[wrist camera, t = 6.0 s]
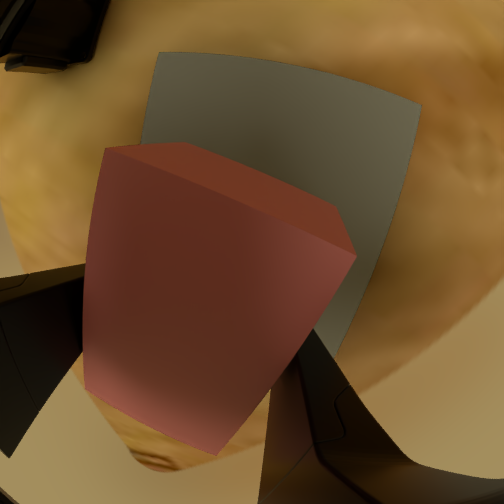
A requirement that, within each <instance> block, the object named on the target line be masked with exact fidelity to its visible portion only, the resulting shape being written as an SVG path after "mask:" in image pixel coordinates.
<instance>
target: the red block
mask: <svg viewBox="0 0 504 504" xmlns="http://www.w3.org/2000/svg"><path fill="white" fill-rule="evenodd" d="M356 257H357V255H356V252H355V250H354V247H353V245H352V242H351V240H350V238H349V235H348V233H347V230H346V228H345V226H344V223H343V221H342V219H341V217H340V214H339V212H338V210H337V208H336V206H334V205H332V204H330V203H328V202H326V201H324V200H322V199H320V198H318V197H316V196H314V195H312V194H309V193H307V192H305V191H303V190H301V189H299V188H296V187H294V186H292V185H290V184H288V183H285V182H283V181H281V180H279V179H276V178H274V177H272V176H269V175H267V174H265V173H262V172H260V171H258V170H255V169H253V168H251V167H248V166H246V165H243V164H241V163H238V162H236V161H233V160H231V159H228V158H226V157H223V156H221V155H218V154H216V153H213V152H210V151H208V150H205V149H203V148H200V147H197V146H195V145H192V144H189V143H186V142H174V143H155V144H141V145H129V146H118V147H109V148H105V152H104V156H103V160H102V164H101V169H100V173H99V178H98V183H97V188H96V193H95V198H94V204H93V210H92V216H91V223H90V230H89V237H88V245H87V255H86V265H85V277H84V294H83V365H84V381H85V389H86V390H87V391H89V392H90V393H92V394H93V395H95V396H96V397H98V398H100V399H101V400H103V401H104V402H106V403H108V404H109V405H111V406H113V407H114V408H116V409H118V410H119V411H121V412H123V413H125V414H126V415H128V416H130V417H132V418H134V419H136V420H137V421H139V422H141V423H143V424H145V425H147V426H149V427H151V428H153V429H155V430H157V431H159V432H161V433H163V434H165V435H167V436H169V437H172V438H174V439H176V440H178V441H181V442H183V443H185V444H188V445H190V446H192V447H195V448H197V449H200V450H202V451H205V452H207V453H210V454H213V455H215V456H216V455H217V454H218V453H219V452H220V451H221V450H222V448H223V447H224V446H225V445H226V444H227V443H228V441H229V440H230V439H231V438H232V437H233V435H234V434H235V433H236V432H237V431H238V429H239V428H240V427H241V426H242V425H243V423H244V422H245V421H246V420H247V418H248V417H249V416H250V415H251V413H252V412H253V411H254V410H255V408H256V407H257V406H258V404H259V403H260V402H261V401H262V399H263V398H264V397H265V395H266V394H267V393H268V391H269V390H270V389H271V387H272V386H273V385H274V383H275V382H276V381H277V379H278V378H279V376H280V375H281V374H282V372H283V371H284V370H285V368H286V367H287V365H288V364H289V363H290V361H291V360H292V358H293V357H294V355H295V354H296V353H297V351H298V350H299V348H300V347H301V345H302V344H303V342H304V341H305V339H306V338H307V336H308V335H309V333H310V332H311V330H312V329H313V327H314V326H315V324H316V323H317V321H318V320H319V318H320V317H321V315H322V313H323V312H324V310H325V309H326V307H327V306H328V304H329V302H330V301H331V299H332V298H333V296H334V294H335V293H336V291H337V289H338V288H339V286H340V284H341V283H342V281H343V279H344V278H345V276H346V274H347V273H348V271H349V269H350V268H351V266H352V264H353V262H354V261H355V259H356Z"/></svg>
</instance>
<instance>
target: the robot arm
mask: <svg viewBox="0 0 504 504" xmlns="http://www.w3.org/2000/svg"><path fill="white" fill-rule="evenodd" d="M109 1H110V0H0V63H5V68H4V69H5V70H6V71H12V72H29V73H41V74H46V73H51V72H57V71H63V70H64V69H66V67H67V66H68V65H75V64H82V63H87V62H89V61H90V59H91V58H92V55H93V51H94V47H95V44H96V40H97V37H98V33H99V30H100V27H101V24H102V21H103V18H104V15H105V12H106V9H107V6H108V3H109ZM85 55H86V56H85ZM84 57H85V58H84ZM85 265H86V263H85V264H80V265H74V266H68V267H62V268H57V269H51V270H45V271H40V272H34V273H30V274H23V275H18V276H11V277H5V278H0V451H1V452H2V453H3V454H4V455H6V456H7V457H8V458H10V457H11V455H12V454H13V452H14V451H15V449H16V447H17V446H18V444H19V443H20V441H21V439H22V438H23V436H24V435H25V433H26V431H27V430H28V428H29V427H30V425H31V424H32V422H33V421H34V419H35V418H36V416H37V415H38V413H39V411H40V410H41V409H42V407H43V406H44V404H45V403H46V401H47V400H48V398H49V397H50V395H51V394H52V393H53V391H54V390H55V388H56V387H57V385H58V384H59V383H60V381H61V380H62V379H63V377H64V376H65V374H66V373H67V372H68V370H69V369H70V368H71V366H72V365H73V364H74V362H75V361H76V360H77V358H78V357H79V356H80V354H81V353H82V352H83V294H84V277H85ZM0 504H19V503H18V502H16V501H15V500H14V499H13V498H12V497H11V496H10V495H8V494H7V493H6V492H5V491H4V490H3V489H2V488H1V487H0ZM258 504H504V479H486V478H479V477H472V476H467V475H462V474H457V473H452V472H448V471H444V470H439V469H435V468H431V467H427V466H424V465H421V464H418V463H416V462H414V461H413V460H411V459H410V458H408V457H407V456H406V455H405V454H404V453H403V452H402V451H401V450H400V448H399V447H398V446H397V445H396V444H395V443H394V441H393V440H392V439H391V438H390V437H389V435H388V434H387V433H386V432H385V430H384V429H383V428H382V427H381V426H380V424H379V423H378V422H377V421H376V420H375V418H374V417H373V416H372V414H371V413H370V412H369V411H368V409H367V408H366V407H365V405H364V404H363V402H362V401H361V400H360V398H359V397H358V395H357V394H356V392H355V391H354V389H353V388H352V386H351V385H350V383H349V382H348V380H347V379H346V377H345V376H344V374H343V373H342V371H341V369H340V368H339V366H338V365H337V363H336V362H335V360H334V359H333V357H332V356H331V354H330V353H329V351H328V350H327V348H326V347H325V345H324V344H323V342H322V341H321V339H320V338H319V336H318V334H317V333H316V331H315V330H314V328H313V329H312V330H311V332H310V333H309V335H308V336H307V338H306V339H305V341H304V342H303V344H302V345H301V347H300V348H299V350H298V351H297V353H296V354H295V355H294V357H293V358H292V360H291V361H290V363H289V364H288V365H287V367H286V368H285V370H284V371H283V372H282V374H281V375H280V376H279V378H278V379H277V381H276V382H275V383H274V385H273V386H272V387H271V393H270V403H269V413H268V422H267V431H266V440H265V449H264V458H263V465H262V473H261V481H260V489H259V497H258Z"/></svg>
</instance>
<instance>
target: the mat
mask: <svg viewBox="0 0 504 504" xmlns="http://www.w3.org/2000/svg"><path fill="white" fill-rule="evenodd" d="M421 107H422V105H420V104H418V103H415V102H413V101H410V100H408V99H406V98H403V97H400V96H398V95H395V94H393V93H390V92H387V91H385V90H382V89H379V88H376V87H373V86H370V85H367V84H364V83H361V82H358V81H355V80H351V79H348V78H345V77H341V76H338V75H334V74H330V73H326V72H322V71H318V70H314V69H310V68H305V67H301V66H296V65H291V64H286V63H281V62H275V61H269V60H263V59H256V58H249V57H241V56H232V55H221V54H208V53H188V52H159V54H158V58H157V62H156V66H155V70H154V75H153V79H152V84H151V88H150V93H149V98H148V103H147V108H146V113H145V119H144V125H143V131H142V137H141V143H140V145H141V144H155V143H174V142H186V143H189V144H192V145H195V146H197V147H200V148H203V149H205V150H208V151H210V152H213V153H216V154H218V155H221V156H223V157H226V158H228V159H231V160H233V161H236V162H238V163H241V164H243V165H246V166H248V167H251V168H253V169H255V170H258V171H260V172H262V173H265V174H267V175H269V176H272V177H274V178H276V179H279V180H281V181H283V182H285V183H288V184H290V185H292V186H294V187H296V188H299V189H301V190H303V191H305V192H307V193H309V194H312V195H314V196H316V197H318V198H320V199H322V200H324V201H326V202H328V203H330V204H332V205H334V206H336V208H337V210H338V212H339V214H340V217H341V219H342V221H343V223H344V226H345V228H346V230H347V233H348V235H349V238H350V240H351V242H352V245H353V247H354V250H355V252H356V255H357V257H356V259H355V261H354V262H353V264H352V266H351V268H350V269H349V271H348V273H347V274H346V276H345V278H344V279H343V281H342V283H341V284H340V286H339V288H338V289H337V291H336V293H335V294H334V296H333V298H332V299H331V301H330V302H329V304H328V306H327V307H326V309H325V310H324V312H323V313H322V315H321V317H320V318H319V320H318V321H317V323H316V324H315V326H314V327H313V328H314V330H315V331H316V333H317V334H318V336H319V338H320V339H321V341H322V342H323V344H324V345H325V347H326V348H327V350H328V351H329V353H330V354H331V356H332V357H333V359H334V357H335V355H336V353H337V351H338V349H339V347H340V345H341V343H342V341H343V339H344V337H345V335H346V333H347V331H348V328H349V326H350V324H351V322H352V320H353V318H354V315H355V313H356V311H357V309H358V306H359V304H360V302H361V300H362V297H363V295H364V293H365V290H366V288H367V285H368V283H369V281H370V278H371V276H372V273H373V271H374V268H375V265H376V263H377V260H378V258H379V255H380V252H381V250H382V247H383V244H384V241H385V239H386V236H387V233H388V230H389V227H390V224H391V221H392V218H393V215H394V212H395V209H396V206H397V203H398V199H399V196H400V193H401V189H402V186H403V183H404V179H405V176H406V172H407V168H408V164H409V161H410V157H411V153H412V149H413V145H414V140H415V136H416V132H417V127H418V122H419V118H420V113H421Z"/></svg>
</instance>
